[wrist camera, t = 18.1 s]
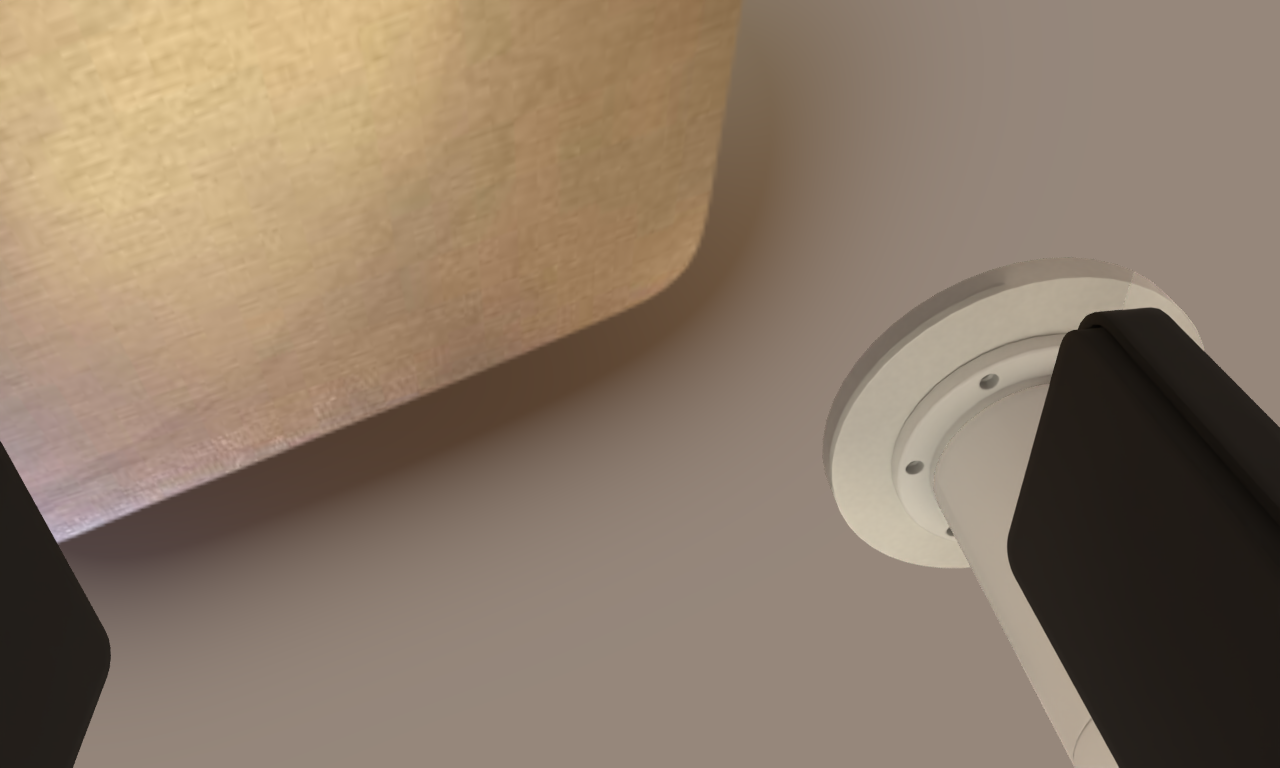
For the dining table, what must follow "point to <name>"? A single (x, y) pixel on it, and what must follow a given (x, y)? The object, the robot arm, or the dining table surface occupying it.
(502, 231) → the dining table surface
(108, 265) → the dining table surface
